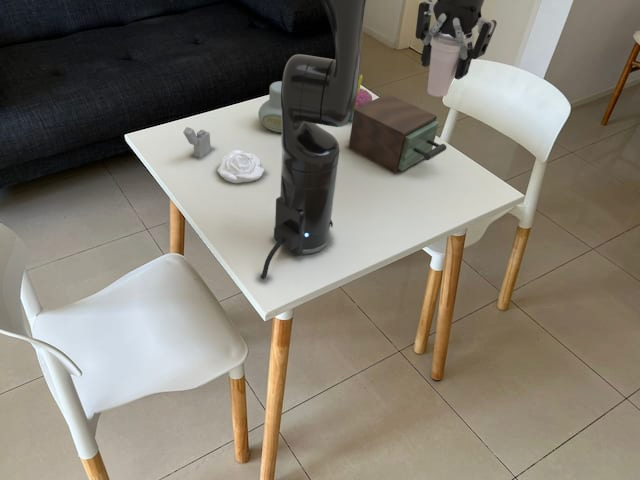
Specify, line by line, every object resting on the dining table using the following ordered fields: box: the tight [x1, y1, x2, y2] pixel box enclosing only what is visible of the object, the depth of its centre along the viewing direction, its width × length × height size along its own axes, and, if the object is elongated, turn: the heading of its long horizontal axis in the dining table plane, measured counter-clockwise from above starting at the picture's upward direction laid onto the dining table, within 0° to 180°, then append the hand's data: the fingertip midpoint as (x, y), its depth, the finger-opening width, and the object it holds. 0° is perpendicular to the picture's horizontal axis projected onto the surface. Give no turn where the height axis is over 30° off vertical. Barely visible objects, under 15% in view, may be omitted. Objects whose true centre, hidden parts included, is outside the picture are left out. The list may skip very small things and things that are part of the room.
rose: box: [217, 149, 265, 184], centre depth 111 cm, size 10×4×10 cm
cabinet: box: [348, 93, 438, 174], centre depth 117 cm, size 14×12×10 cm
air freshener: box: [258, 80, 282, 133], centre depth 124 cm, size 11×8×10 cm
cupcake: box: [349, 73, 373, 122], centre depth 128 cm, size 9×8×12 cm
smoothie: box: [426, 34, 468, 98], centre depth 93 cm, size 6×6×14 cm
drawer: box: [398, 120, 447, 172], centre depth 115 cm, size 17×10×8 cm, turn 43°
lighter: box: [183, 126, 212, 159], centre depth 114 cm, size 7×2×8 cm, turn 151°
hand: (442, 71), depth 96 cm, fingers closed on smoothie, 6 cm apart
